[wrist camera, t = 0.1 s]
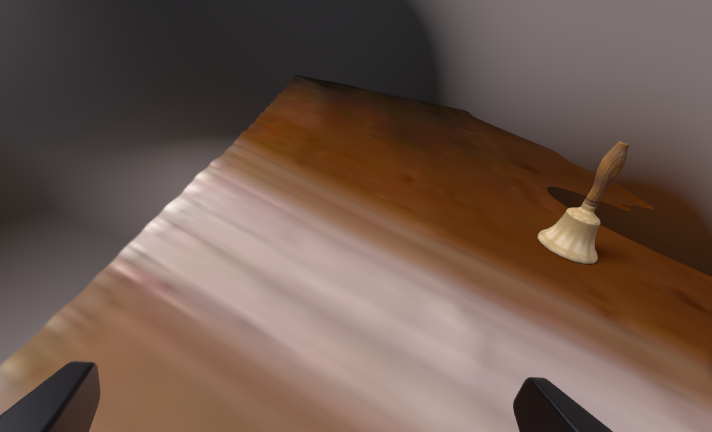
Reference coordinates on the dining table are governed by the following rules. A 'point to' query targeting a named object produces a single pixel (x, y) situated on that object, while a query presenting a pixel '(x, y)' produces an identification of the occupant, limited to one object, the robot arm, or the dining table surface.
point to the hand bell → (585, 214)
